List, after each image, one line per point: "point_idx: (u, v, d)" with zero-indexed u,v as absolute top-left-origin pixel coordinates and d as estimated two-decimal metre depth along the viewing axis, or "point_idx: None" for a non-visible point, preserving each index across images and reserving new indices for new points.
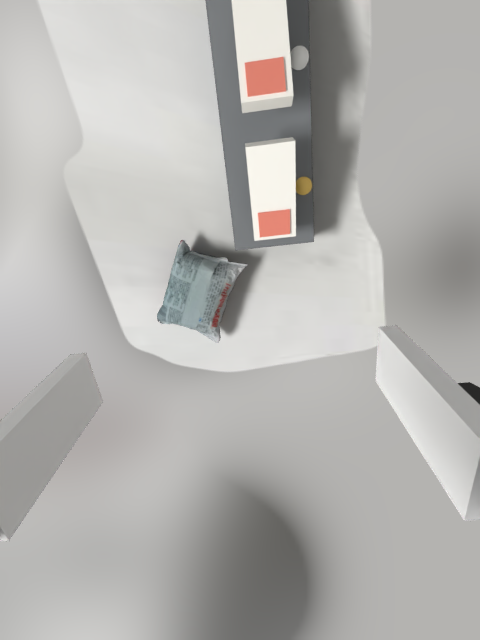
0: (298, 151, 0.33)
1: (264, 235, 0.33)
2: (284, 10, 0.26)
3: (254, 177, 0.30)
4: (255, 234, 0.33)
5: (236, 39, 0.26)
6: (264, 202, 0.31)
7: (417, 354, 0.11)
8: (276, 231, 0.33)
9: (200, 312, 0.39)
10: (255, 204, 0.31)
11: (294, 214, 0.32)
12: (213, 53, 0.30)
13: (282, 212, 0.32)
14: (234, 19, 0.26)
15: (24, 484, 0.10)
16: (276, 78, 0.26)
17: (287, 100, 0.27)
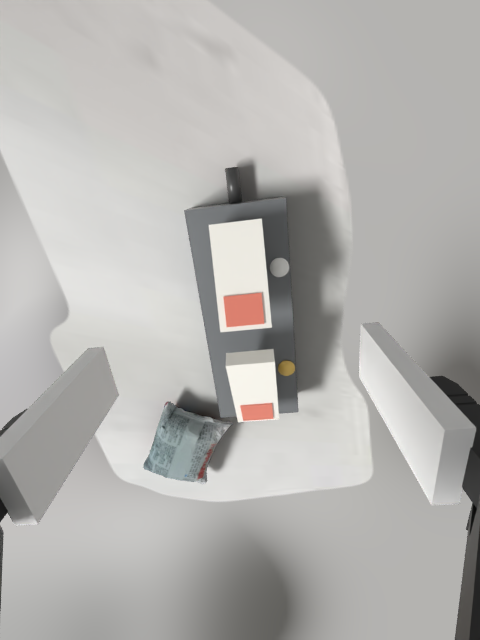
0: (280, 340, 0.33)
1: (247, 419, 0.33)
2: (262, 249, 0.26)
3: (235, 383, 0.30)
4: (238, 418, 0.34)
5: (215, 273, 0.27)
6: (246, 398, 0.31)
7: (394, 349, 0.12)
8: (259, 417, 0.33)
9: (185, 470, 0.39)
10: (237, 400, 0.32)
11: (276, 406, 0.32)
12: (194, 262, 0.30)
13: (265, 405, 0.32)
14: (213, 255, 0.26)
15: (50, 471, 0.10)
16: (254, 312, 0.27)
17: None
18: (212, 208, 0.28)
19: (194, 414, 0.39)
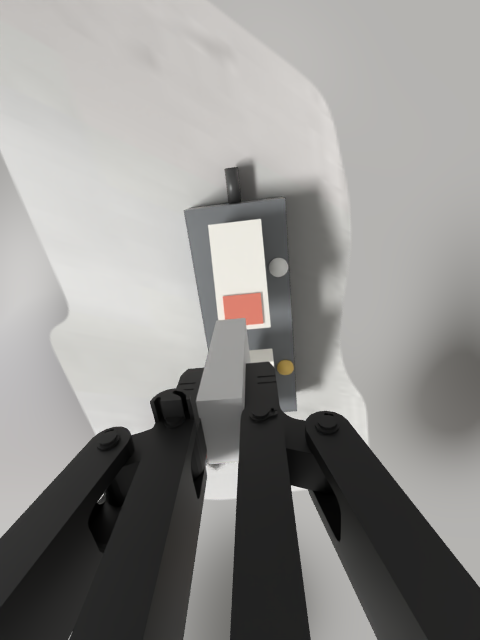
0: (279, 340, 0.33)
1: None
2: (261, 249, 0.26)
3: None
4: None
5: (214, 273, 0.27)
6: None
7: (237, 340, 0.14)
8: None
9: None
10: None
11: None
12: (194, 261, 0.30)
13: None
14: (212, 255, 0.27)
15: None
16: (253, 312, 0.27)
17: None
18: (211, 208, 0.28)
19: None
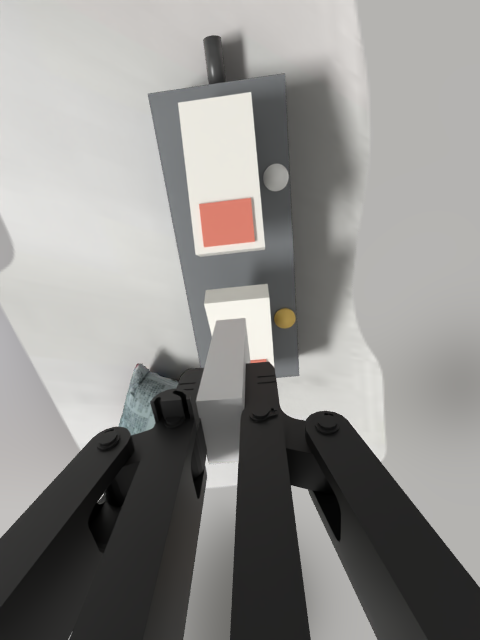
0: (277, 281, 0.26)
1: None
2: (251, 136, 0.19)
3: None
4: None
5: (187, 172, 0.19)
6: None
7: (237, 340, 0.14)
8: None
9: None
10: None
11: (272, 363, 0.25)
12: (164, 170, 0.23)
13: None
14: (184, 146, 0.19)
15: None
16: (241, 225, 0.19)
17: (257, 248, 0.20)
18: (185, 90, 0.21)
19: (171, 379, 0.32)
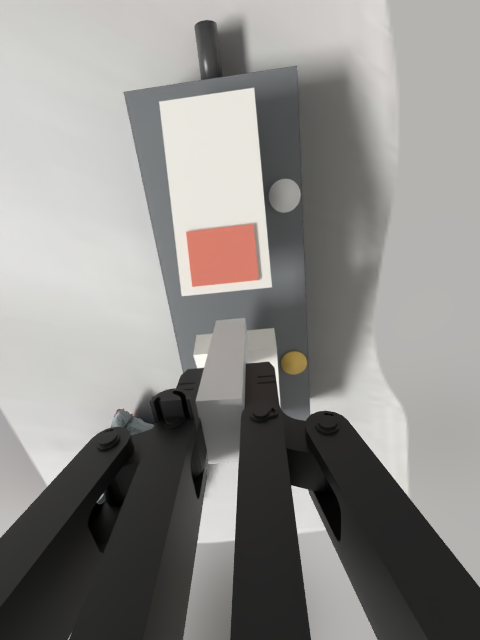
0: (285, 319, 0.21)
1: None
2: (255, 144, 0.15)
3: None
4: None
5: (171, 191, 0.15)
6: None
7: (237, 340, 0.14)
8: None
9: None
10: None
11: None
12: (146, 187, 0.18)
13: None
14: (167, 157, 0.15)
15: None
16: (241, 260, 0.15)
17: None
18: (171, 87, 0.16)
19: None
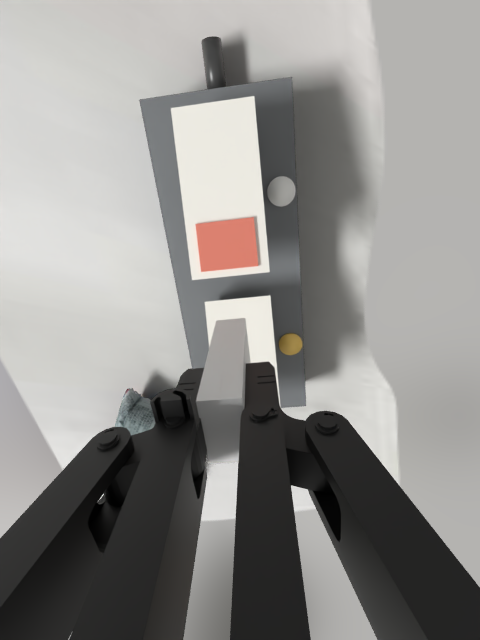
0: (282, 303, 0.23)
1: None
2: (255, 147, 0.17)
3: None
4: None
5: (182, 188, 0.17)
6: None
7: (237, 340, 0.14)
8: None
9: None
10: None
11: None
12: (158, 184, 0.21)
13: None
14: (178, 158, 0.17)
15: None
16: (244, 248, 0.17)
17: None
18: (181, 95, 0.19)
19: None
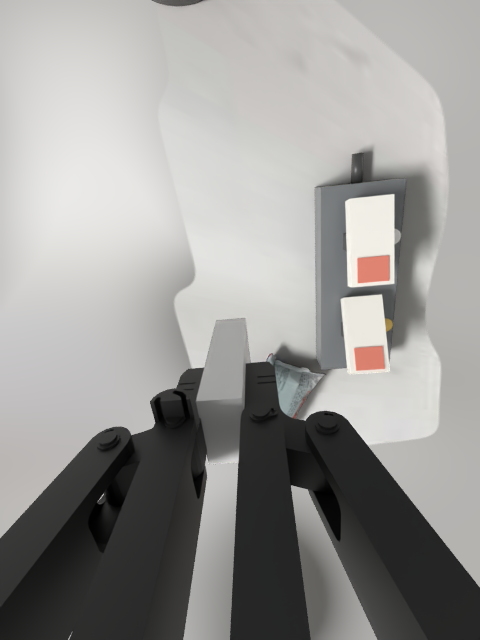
0: (383, 300, 0.39)
1: (360, 369, 0.37)
2: (392, 219, 0.32)
3: (350, 319, 0.37)
4: (352, 368, 0.37)
5: (351, 239, 0.33)
6: (360, 339, 0.37)
7: (237, 340, 0.14)
8: (371, 366, 0.37)
9: None
10: (351, 341, 0.37)
11: (386, 351, 0.37)
12: (322, 231, 0.36)
13: (376, 349, 0.37)
14: (351, 224, 0.32)
15: None
16: (382, 271, 0.33)
17: None
18: (344, 186, 0.34)
19: (292, 365, 0.45)
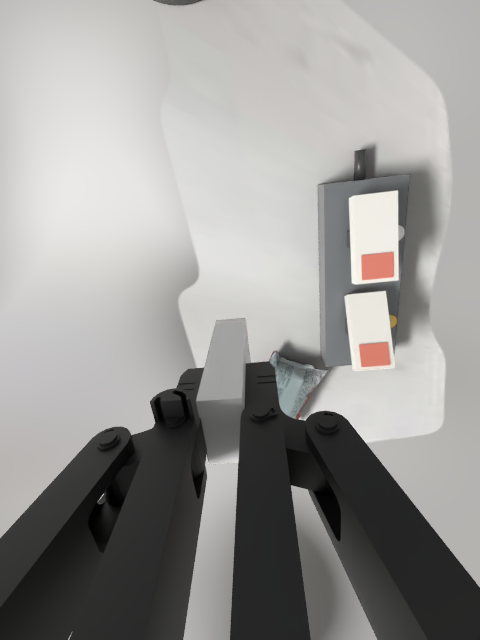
0: (387, 297, 0.39)
1: (365, 365, 0.37)
2: (396, 216, 0.32)
3: (355, 316, 0.37)
4: (357, 364, 0.37)
5: (355, 236, 0.33)
6: (364, 335, 0.37)
7: (237, 340, 0.14)
8: (376, 362, 0.37)
9: (288, 411, 0.45)
10: (356, 337, 0.37)
11: (391, 347, 0.37)
12: (325, 228, 0.36)
13: (381, 345, 0.37)
14: (355, 221, 0.32)
15: None
16: (386, 268, 0.33)
17: None
18: (347, 183, 0.34)
19: (296, 362, 0.45)
